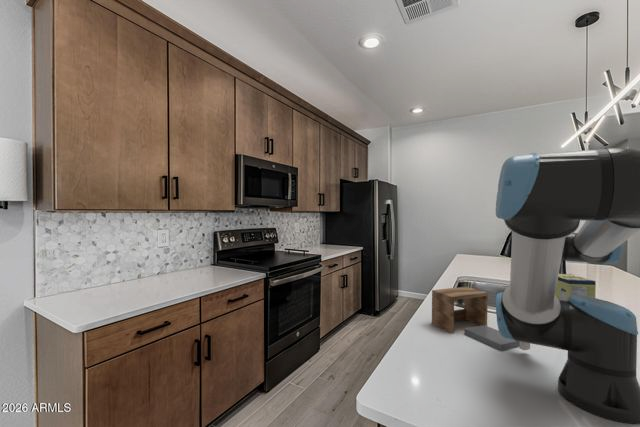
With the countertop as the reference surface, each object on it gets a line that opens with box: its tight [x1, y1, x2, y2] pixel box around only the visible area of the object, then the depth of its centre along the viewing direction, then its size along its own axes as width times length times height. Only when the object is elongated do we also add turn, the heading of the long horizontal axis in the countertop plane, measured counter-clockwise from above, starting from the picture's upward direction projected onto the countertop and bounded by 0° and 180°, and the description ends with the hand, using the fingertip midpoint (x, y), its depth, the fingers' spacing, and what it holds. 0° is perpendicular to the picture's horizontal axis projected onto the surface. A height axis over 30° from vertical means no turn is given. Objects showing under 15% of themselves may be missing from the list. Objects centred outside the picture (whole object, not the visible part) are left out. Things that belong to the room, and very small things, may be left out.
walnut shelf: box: [431, 286, 489, 334], centre depth 115 cm, size 10×18×13 cm, turn 112°
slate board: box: [463, 325, 520, 352], centre depth 102 cm, size 14×10×2 cm
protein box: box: [555, 273, 597, 301], centre depth 135 cm, size 10×16×16 cm
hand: (524, 348), depth 92 cm, fingers closed
